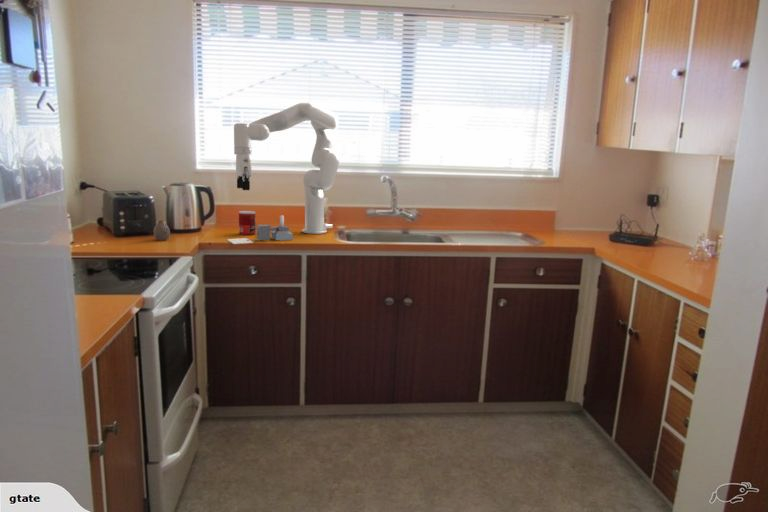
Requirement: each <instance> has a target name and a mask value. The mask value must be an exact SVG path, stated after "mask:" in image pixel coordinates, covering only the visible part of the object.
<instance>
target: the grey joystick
mask: <svg viewBox="0 0 768 512" xmlns="http://www.w3.org/2000/svg"><path fill="white" fill-rule="evenodd" d="M279 226H280V228H283V227H284V226H285V216H284V215H279ZM270 236H271V239H272V238H273V239H272V240H274V239H275V240H274V241H276V240H280V241H289V240H290V241H293V240H294V234H293V233H292V232H291V231H290V230H289V231H270Z"/></svg>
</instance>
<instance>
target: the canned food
mask: <svg viewBox="0 0 768 512" xmlns="http://www.w3.org/2000/svg"><path fill="white" fill-rule="evenodd" d="M238 226H239V227H238V233H239V235H241V236H254V235H255V234H257V225H256V211H253V210H240V211H238Z"/></svg>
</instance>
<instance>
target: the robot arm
mask: <svg viewBox="0 0 768 512" xmlns="http://www.w3.org/2000/svg"><path fill="white" fill-rule="evenodd" d="M307 121H309V122H310V124H311V126H312V128H313V130H314V131H315V135H316V140H315V144H314V148H313V151H312V155H311V161H310V162H311V164H312V166H313V167H315V168H318V169H309V170H307V171H306V172H305V174H303V181H302V182H303V187H304V199H305V200H304V228H302V230H301V232H302V233H303V234H308V235H309V234H311V235H317V234H321V235H322V234H326V233H327V232H328V231H327V229H332V228H334V226H333V224H332V223H331V224H330V223H325V195H324V191H328V190H329V189H331V188H332V187H333V185H334V183H335V180H336V179H335V178H336V175H337V172H338V168H339V164H340V157H339V154H338V153H337V151H336V150H333V145H334V134H333V132H332V130H334V129H335V128H336V127H337V126H338V124H339V118H338V116H337V114H336V113H335V112H333V111H331V110H329V109H327V108H325V107H323V106H321V105H319V104H317V103H314V102H309V101H308V102H300V103H297V104H294V105H293V106H290V107H287V108H285V109H283V110H281V111H278V112H276V113H273V114H270V115H268V116H264V117H263V118H262V117H261V118H259V119H256V120H255V121H253V122H249V123H243V122H241V123H240V122H239V123H238V122H237V123H235V124H234V125H233V140H234V141H233V146H234V147H233V151H234V152H233V153H234V155H235V156H236V158H235V174H236V188H237V189H242V191H250V188H251V187H250V186H251V180H250V177H252V175H253V173H252V159H251V156H252V141H258V142H261V141H266V140H267V139H268V138H269V137H270V133H274V132H281V131H286V130H288V129H290V128H293V127H294V126H296V125H299V124H301V123H303V122H307Z"/></svg>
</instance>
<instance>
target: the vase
mask: <svg viewBox="0 0 768 512" xmlns="http://www.w3.org/2000/svg"><path fill="white" fill-rule="evenodd" d="M170 235H171V230H170V228H169V226H168V225H167V223H166V222H165V221H164V220H161V219H160V220H158V221H157V223H156V224H155V226H154V227H153V237H154V238H155V240H156V241H158V242H161V241H167V240H168V239H169V238H170Z"/></svg>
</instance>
